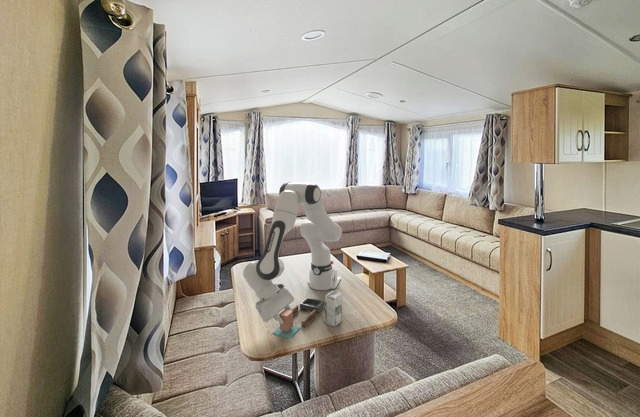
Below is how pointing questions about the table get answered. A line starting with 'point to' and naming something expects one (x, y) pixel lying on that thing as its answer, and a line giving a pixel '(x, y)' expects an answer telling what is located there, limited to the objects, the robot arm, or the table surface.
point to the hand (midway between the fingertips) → (287, 319)
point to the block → (286, 320)
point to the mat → (286, 334)
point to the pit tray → (311, 304)
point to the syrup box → (333, 308)
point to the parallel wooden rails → (308, 318)
